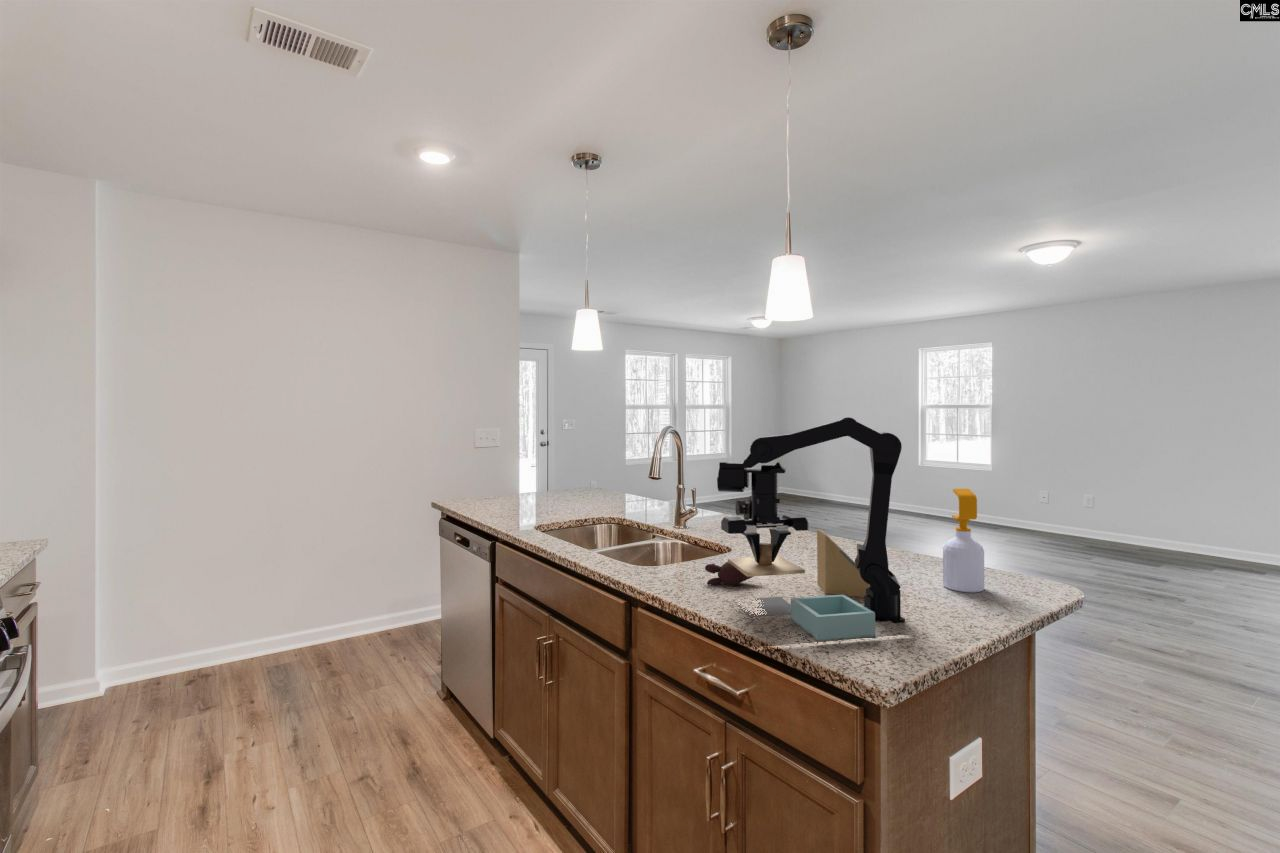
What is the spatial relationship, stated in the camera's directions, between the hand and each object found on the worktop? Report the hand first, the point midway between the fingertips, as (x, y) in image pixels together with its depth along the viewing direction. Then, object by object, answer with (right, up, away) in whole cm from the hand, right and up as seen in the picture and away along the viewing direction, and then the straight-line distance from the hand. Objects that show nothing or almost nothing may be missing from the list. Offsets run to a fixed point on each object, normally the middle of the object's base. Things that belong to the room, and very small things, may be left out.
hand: (764, 561), depth 134 cm
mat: (0, -11, 0) cm, 11 cm away
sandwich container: (+24, -11, +13) cm, 29 cm away
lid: (0, -1, 0) cm, 1 cm away
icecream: (-4, -11, +19) cm, 22 cm away
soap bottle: (+52, -10, +15) cm, 55 cm away
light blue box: (+11, -11, -13) cm, 20 cm away
